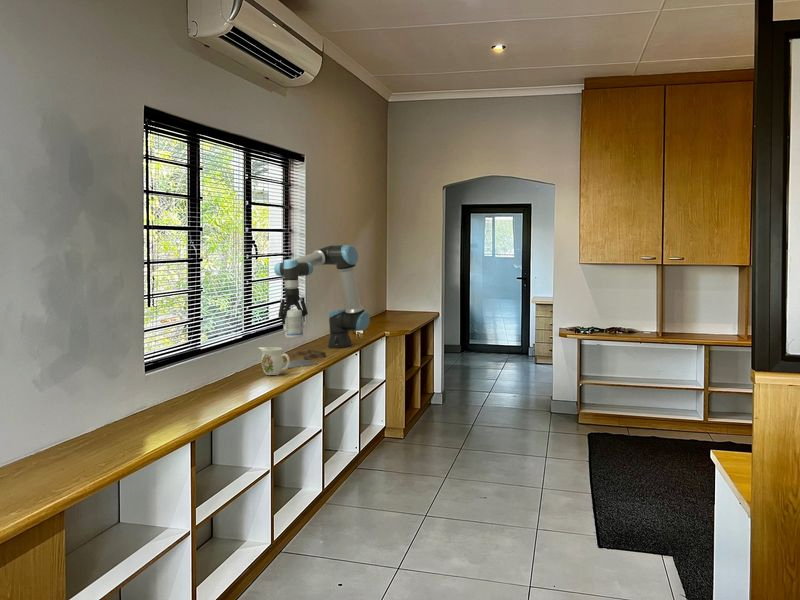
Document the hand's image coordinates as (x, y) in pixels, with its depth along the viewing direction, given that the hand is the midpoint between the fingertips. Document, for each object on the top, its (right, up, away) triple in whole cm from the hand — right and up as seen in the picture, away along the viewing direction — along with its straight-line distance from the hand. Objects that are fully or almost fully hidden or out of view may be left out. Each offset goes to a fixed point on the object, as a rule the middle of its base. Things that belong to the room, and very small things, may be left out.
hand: (293, 329), depth 375 cm
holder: (+4, -17, +24) cm, 30 cm away
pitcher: (-6, -22, -26) cm, 34 cm away
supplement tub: (0, -5, 0) cm, 5 cm away
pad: (+1, -19, +2) cm, 19 cm away
